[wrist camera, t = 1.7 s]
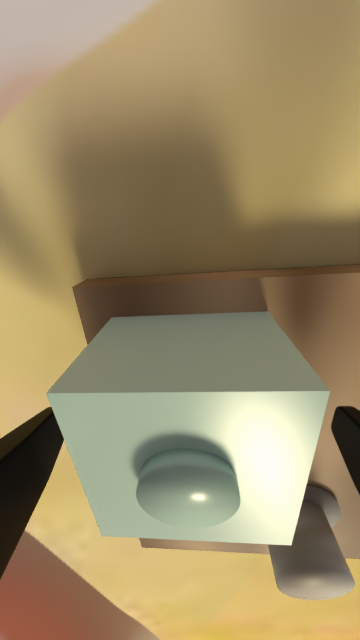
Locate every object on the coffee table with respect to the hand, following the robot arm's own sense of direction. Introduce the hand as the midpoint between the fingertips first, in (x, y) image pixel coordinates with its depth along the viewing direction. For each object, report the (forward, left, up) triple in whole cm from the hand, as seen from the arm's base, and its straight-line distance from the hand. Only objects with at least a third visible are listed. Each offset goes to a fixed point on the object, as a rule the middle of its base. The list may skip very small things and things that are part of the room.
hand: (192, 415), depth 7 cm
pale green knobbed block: (0, 0, -2) cm, 2 cm away
